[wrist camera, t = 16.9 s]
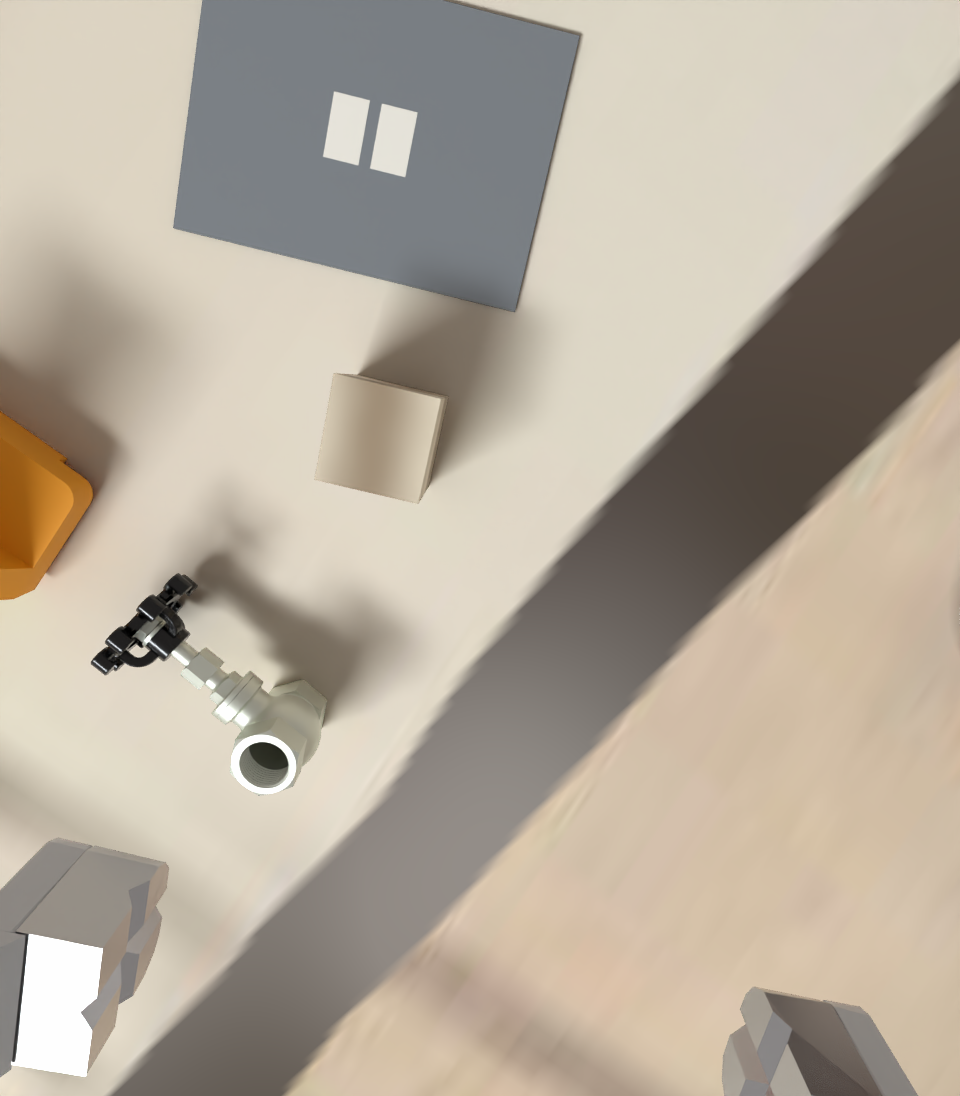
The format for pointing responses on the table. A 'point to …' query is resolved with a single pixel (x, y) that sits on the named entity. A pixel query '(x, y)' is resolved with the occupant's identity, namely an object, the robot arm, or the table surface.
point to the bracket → (34, 507)
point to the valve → (226, 693)
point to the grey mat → (375, 137)
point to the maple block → (380, 437)
